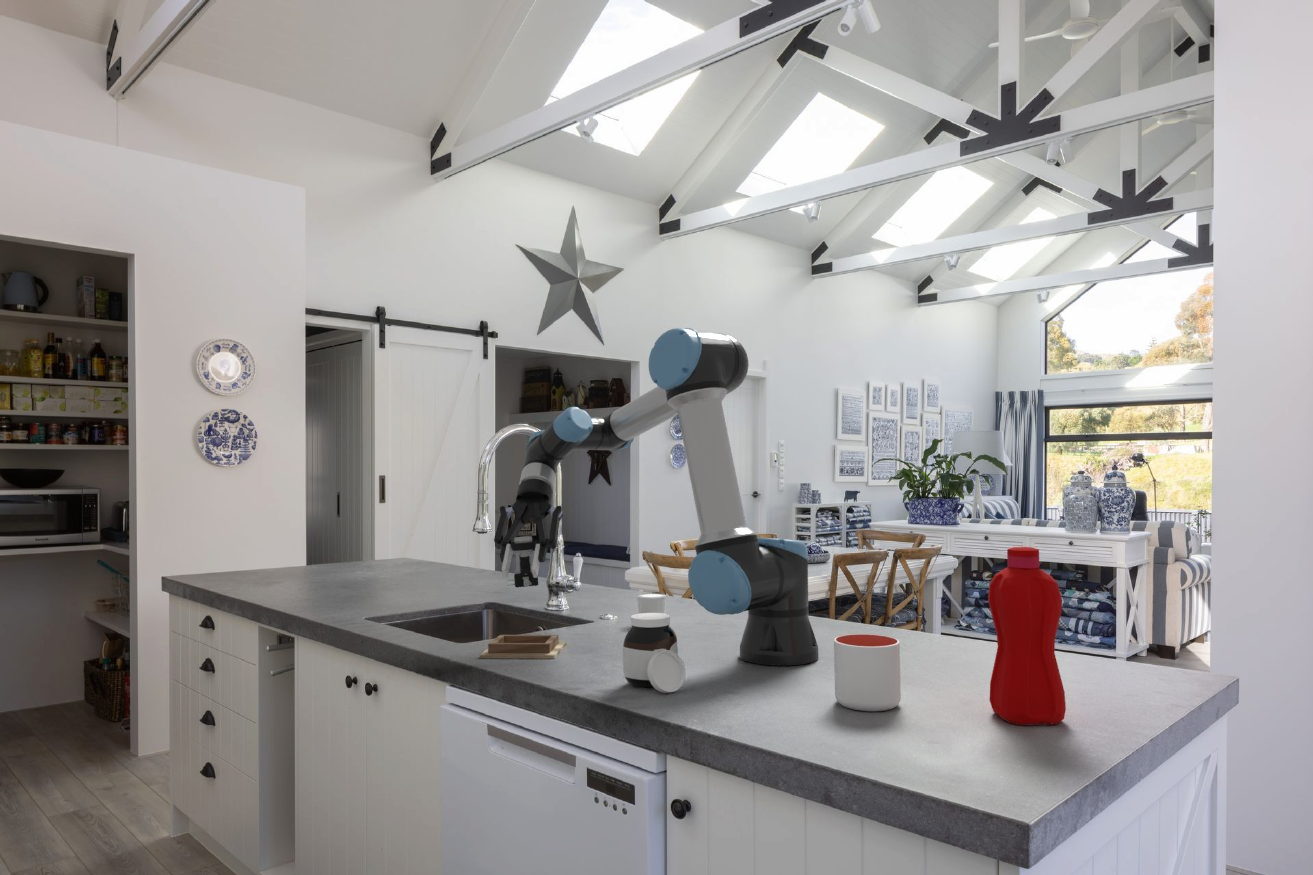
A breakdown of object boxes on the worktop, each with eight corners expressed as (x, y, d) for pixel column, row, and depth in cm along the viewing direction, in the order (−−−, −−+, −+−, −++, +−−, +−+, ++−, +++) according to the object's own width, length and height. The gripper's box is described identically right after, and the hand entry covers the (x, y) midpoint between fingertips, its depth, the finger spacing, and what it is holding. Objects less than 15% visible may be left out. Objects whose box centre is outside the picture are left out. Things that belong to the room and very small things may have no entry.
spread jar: (646, 674, 158) (645, 609, 158) (702, 681, 152) (701, 614, 153) (610, 690, 148) (609, 620, 148) (669, 698, 142) (668, 626, 142)
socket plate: (554, 658, 172) (554, 646, 172) (479, 658, 173) (479, 645, 173) (566, 644, 185) (566, 633, 185) (496, 644, 186) (496, 633, 186)
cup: (889, 717, 130) (888, 649, 130) (825, 708, 135) (824, 642, 135) (909, 701, 138) (907, 637, 139) (848, 692, 144) (846, 631, 144)
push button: (507, 589, 176) (503, 539, 176) (506, 586, 181) (502, 537, 181) (540, 586, 177) (537, 536, 177) (538, 582, 182) (535, 535, 183)
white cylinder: (666, 627, 202) (666, 597, 203) (636, 628, 202) (636, 597, 203) (666, 622, 209) (666, 592, 209) (637, 622, 209) (637, 593, 209)
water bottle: (1038, 705, 135) (1034, 542, 136) (1074, 727, 124) (1069, 549, 125) (979, 706, 135) (975, 543, 135) (1009, 728, 124) (1005, 550, 124)
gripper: (579, 499, 194) (567, 584, 177) (497, 500, 195) (478, 584, 179) (575, 476, 189) (562, 561, 172) (491, 477, 190) (470, 561, 174)
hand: (519, 573), depth 175 cm, fingers closed on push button, 5 cm apart
